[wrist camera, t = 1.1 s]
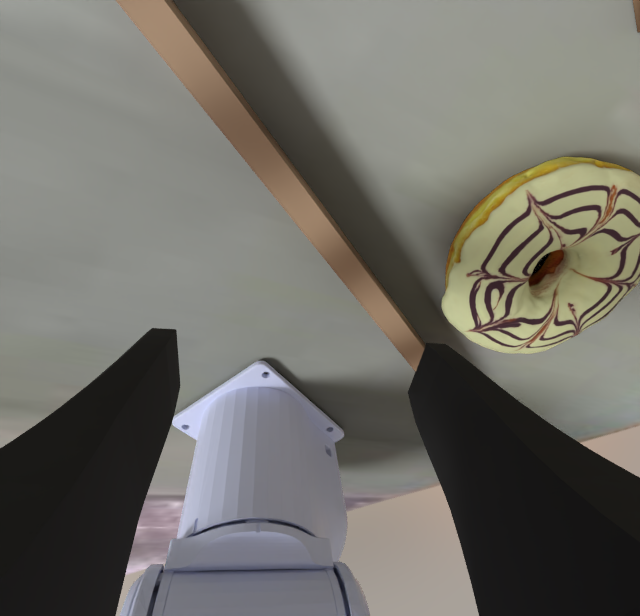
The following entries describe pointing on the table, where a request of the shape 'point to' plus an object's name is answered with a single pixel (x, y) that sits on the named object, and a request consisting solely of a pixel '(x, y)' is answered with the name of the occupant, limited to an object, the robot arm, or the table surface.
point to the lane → (272, 160)
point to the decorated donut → (536, 241)
